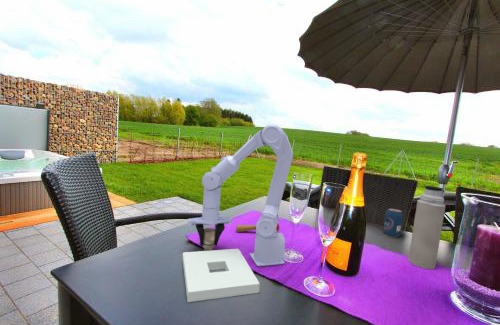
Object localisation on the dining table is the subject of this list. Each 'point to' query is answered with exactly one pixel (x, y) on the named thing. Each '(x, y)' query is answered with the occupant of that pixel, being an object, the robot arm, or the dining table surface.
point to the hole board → (217, 275)
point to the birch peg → (208, 239)
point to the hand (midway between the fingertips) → (208, 244)
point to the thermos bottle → (427, 228)
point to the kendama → (250, 227)
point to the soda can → (393, 222)
